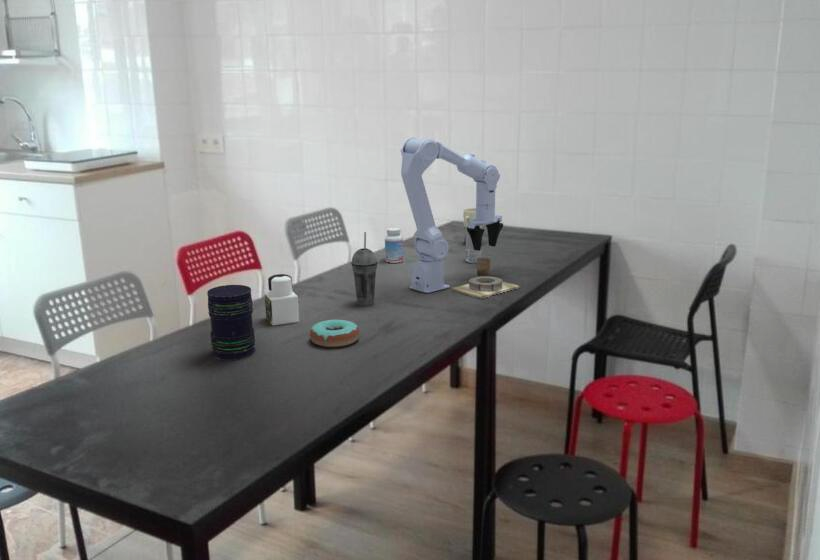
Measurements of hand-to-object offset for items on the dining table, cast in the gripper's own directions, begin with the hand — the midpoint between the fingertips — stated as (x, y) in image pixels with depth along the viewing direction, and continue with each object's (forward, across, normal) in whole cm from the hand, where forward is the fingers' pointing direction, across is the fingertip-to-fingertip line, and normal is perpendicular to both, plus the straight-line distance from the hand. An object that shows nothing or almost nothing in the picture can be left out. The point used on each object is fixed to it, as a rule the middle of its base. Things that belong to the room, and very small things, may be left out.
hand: (484, 248), depth 234 cm
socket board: (+9, -11, -9) cm, 17 cm away
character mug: (+9, +35, +32) cm, 48 cm away
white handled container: (+10, -68, +14) cm, 70 cm away
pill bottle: (+10, -3, +36) cm, 37 cm away
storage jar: (+10, -90, +3) cm, 91 cm away
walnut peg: (+9, -1, 0) cm, 9 cm away
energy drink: (+10, +14, +15) cm, 23 cm away
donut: (+10, -69, -8) cm, 70 cm away
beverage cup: (+10, -43, +8) cm, 45 cm away
